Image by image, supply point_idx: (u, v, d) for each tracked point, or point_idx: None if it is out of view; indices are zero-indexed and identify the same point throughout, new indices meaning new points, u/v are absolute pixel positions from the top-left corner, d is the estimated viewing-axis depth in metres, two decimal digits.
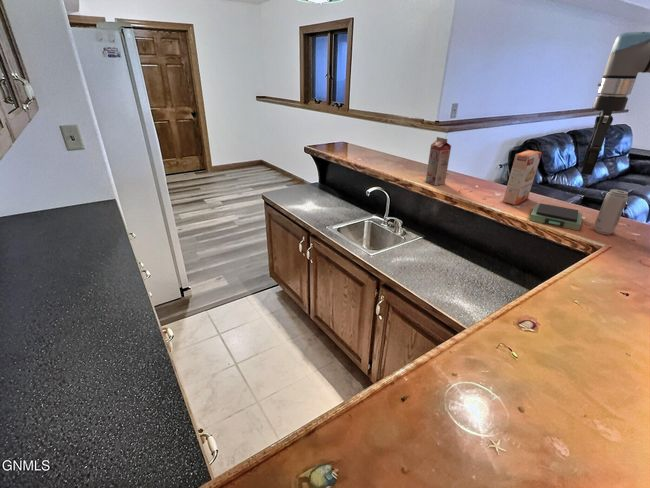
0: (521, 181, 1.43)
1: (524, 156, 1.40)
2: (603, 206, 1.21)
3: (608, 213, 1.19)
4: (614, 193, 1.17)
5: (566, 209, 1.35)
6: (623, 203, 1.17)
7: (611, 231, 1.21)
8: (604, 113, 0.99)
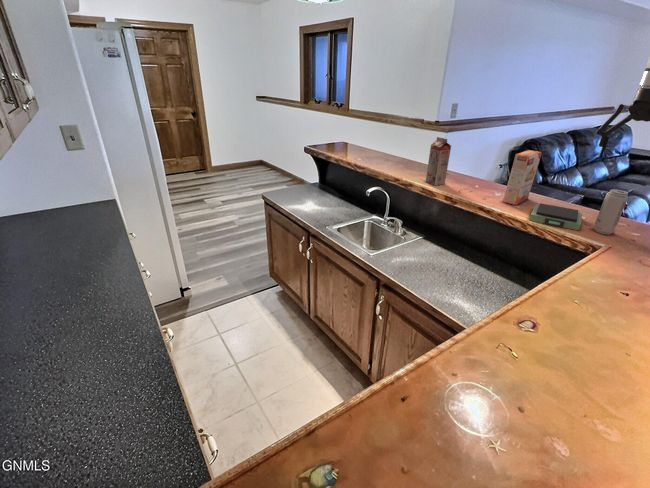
0: (521, 181, 1.43)
1: (524, 156, 1.40)
2: (603, 206, 1.21)
3: (608, 213, 1.19)
4: (614, 193, 1.17)
5: (566, 209, 1.35)
6: (623, 203, 1.17)
7: (611, 231, 1.21)
8: None
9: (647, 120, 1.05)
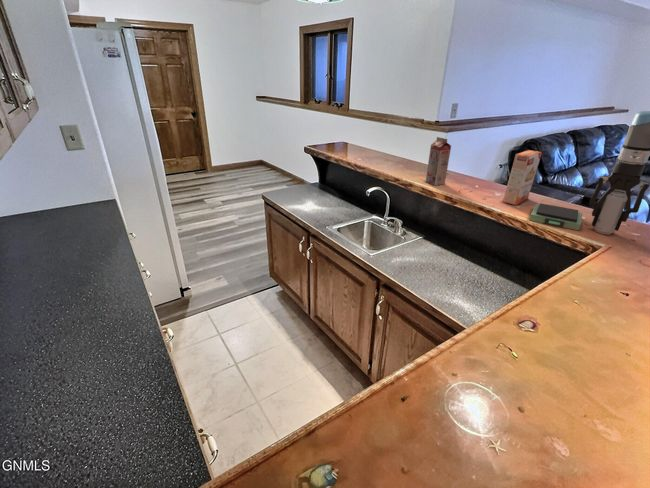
0: (521, 181, 1.43)
1: (524, 156, 1.40)
2: (603, 206, 1.21)
3: (608, 213, 1.19)
4: (614, 193, 1.17)
5: (566, 209, 1.35)
6: (623, 203, 1.17)
7: (611, 231, 1.21)
8: None
9: (625, 189, 1.16)
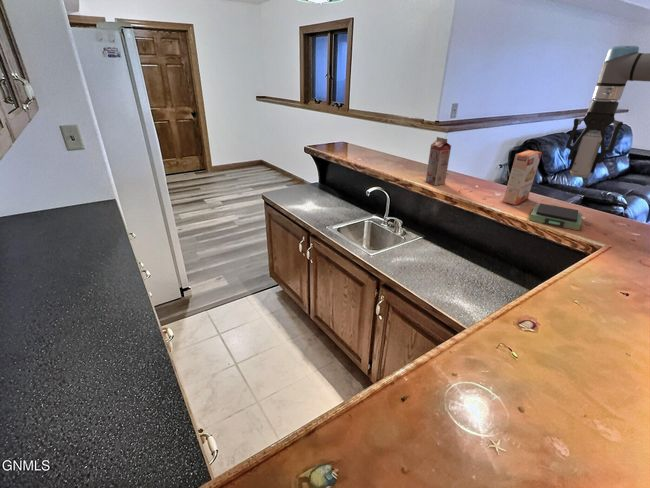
0: (521, 181, 1.43)
1: (524, 156, 1.40)
2: (579, 148, 1.21)
3: (583, 155, 1.19)
4: (589, 133, 1.17)
5: (566, 209, 1.35)
6: (597, 143, 1.17)
7: (587, 173, 1.21)
8: None
9: (599, 129, 1.16)
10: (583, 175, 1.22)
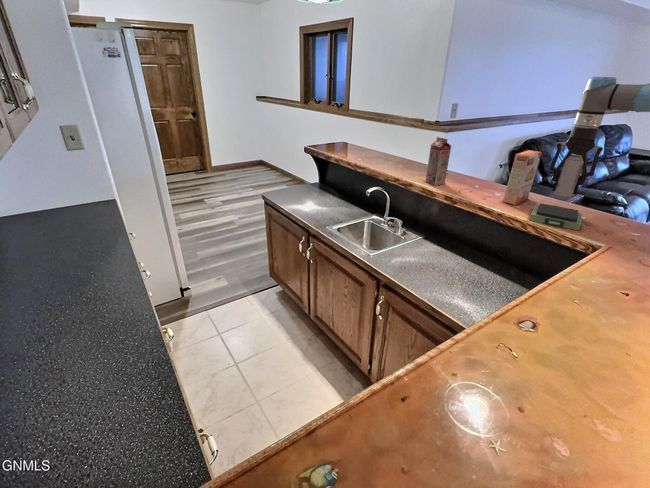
0: (521, 181, 1.43)
1: (524, 156, 1.40)
2: (562, 171, 1.26)
3: (566, 177, 1.25)
4: (571, 157, 1.23)
5: (566, 209, 1.35)
6: (579, 166, 1.22)
7: (569, 195, 1.27)
8: (594, 141, 1.19)
9: (581, 154, 1.22)
10: (566, 196, 1.27)
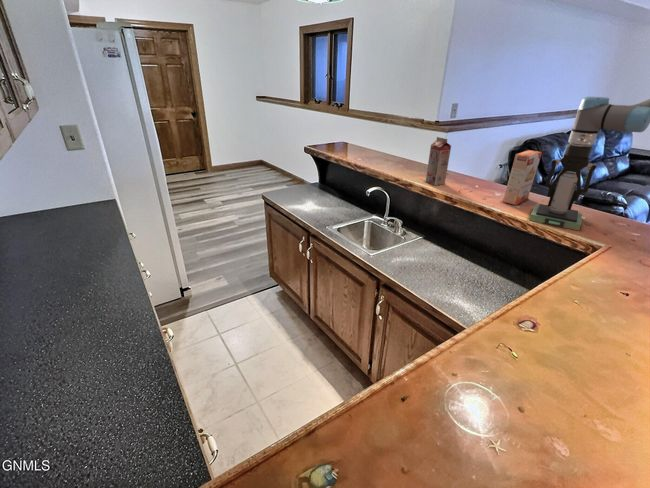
0: (521, 181, 1.43)
1: (524, 156, 1.40)
2: (557, 187, 1.29)
3: (560, 193, 1.28)
4: (565, 174, 1.25)
5: None
6: (573, 183, 1.25)
7: (564, 210, 1.30)
8: None
9: (575, 171, 1.24)
10: (561, 212, 1.30)
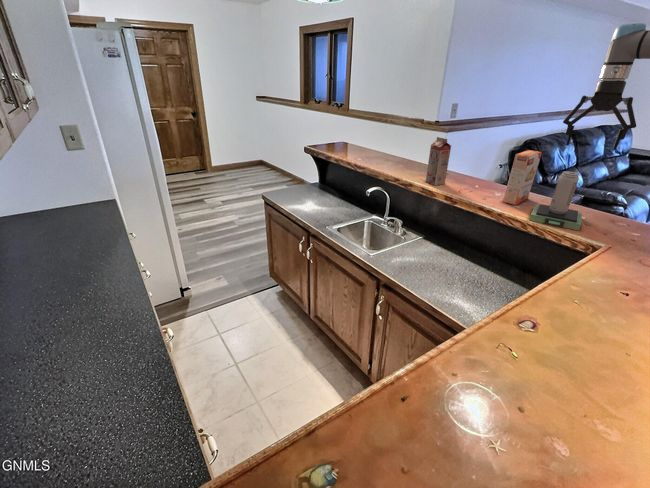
0: (521, 181, 1.43)
1: (524, 156, 1.40)
2: (557, 187, 1.29)
3: (560, 193, 1.28)
4: (565, 174, 1.25)
5: None
6: (573, 183, 1.25)
7: (564, 210, 1.30)
8: None
9: (607, 110, 1.15)
10: (561, 212, 1.30)
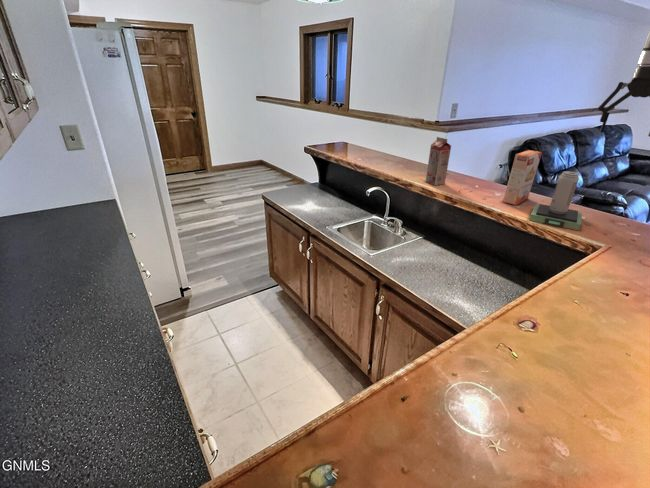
0: (521, 181, 1.43)
1: (524, 156, 1.40)
2: (557, 187, 1.29)
3: (560, 193, 1.28)
4: (565, 174, 1.25)
5: None
6: (573, 183, 1.25)
7: (564, 210, 1.30)
8: None
9: (644, 96, 1.15)
10: (561, 212, 1.30)
